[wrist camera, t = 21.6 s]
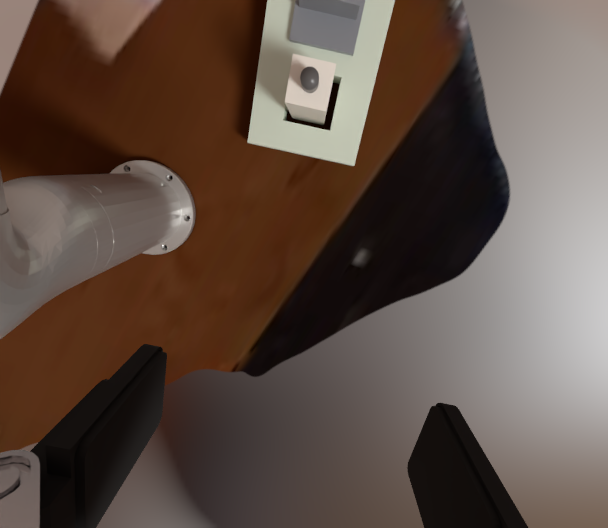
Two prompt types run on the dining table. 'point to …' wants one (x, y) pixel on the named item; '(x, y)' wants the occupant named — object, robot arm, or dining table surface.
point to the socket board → (349, 74)
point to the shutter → (327, 24)
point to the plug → (309, 88)
